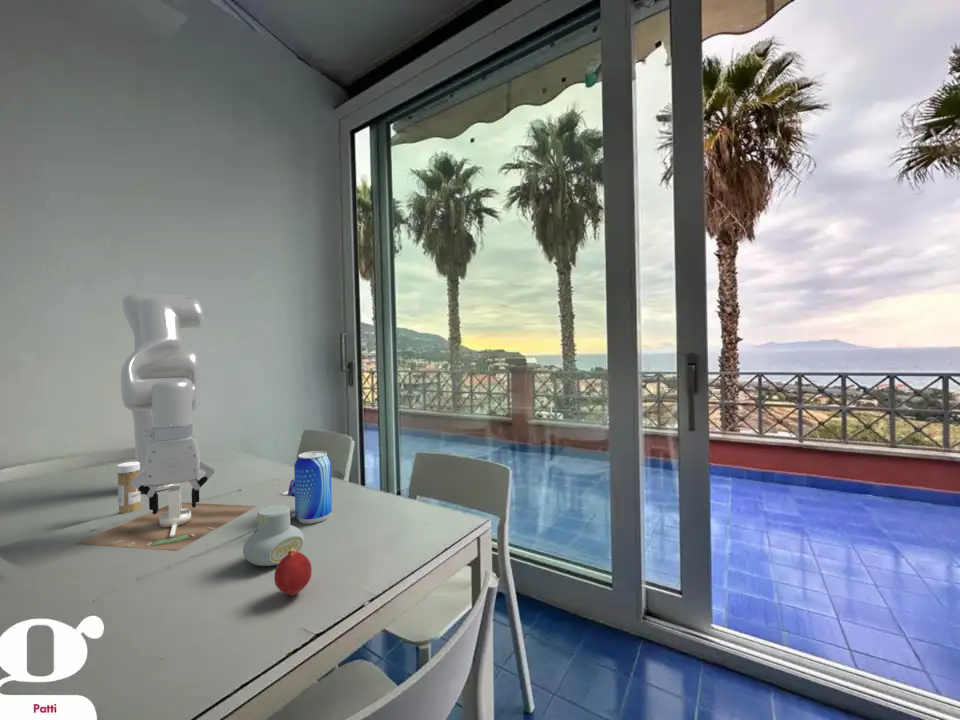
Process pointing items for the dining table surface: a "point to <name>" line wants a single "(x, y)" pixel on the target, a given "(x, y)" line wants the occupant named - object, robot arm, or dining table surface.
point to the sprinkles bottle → (128, 487)
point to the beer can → (312, 487)
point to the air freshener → (272, 537)
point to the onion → (293, 573)
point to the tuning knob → (174, 511)
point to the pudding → (291, 489)
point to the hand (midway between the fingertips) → (175, 508)
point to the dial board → (168, 528)
